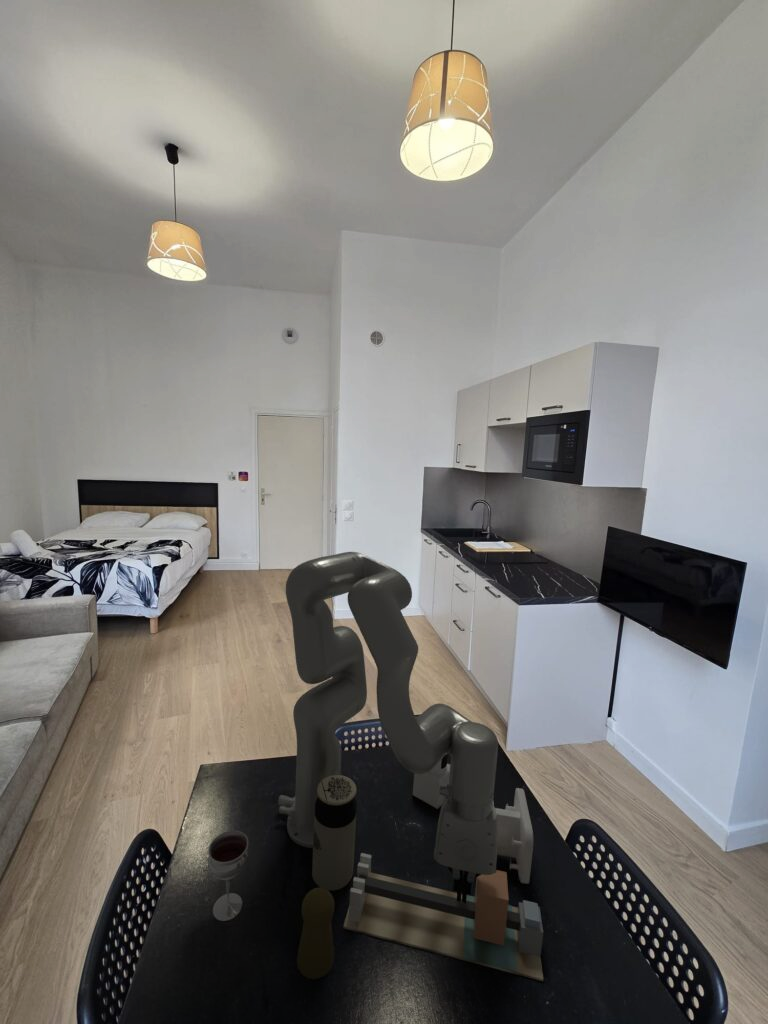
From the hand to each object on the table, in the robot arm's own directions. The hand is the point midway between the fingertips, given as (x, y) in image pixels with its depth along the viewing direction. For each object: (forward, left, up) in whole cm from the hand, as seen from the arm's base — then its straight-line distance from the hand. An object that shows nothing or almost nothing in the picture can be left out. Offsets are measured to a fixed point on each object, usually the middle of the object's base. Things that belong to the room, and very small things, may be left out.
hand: (461, 894), depth 79 cm
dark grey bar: (-4, 0, -4) cm, 5 cm away
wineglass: (-41, -7, -6) cm, 42 cm away
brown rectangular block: (+5, 0, -5) cm, 7 cm away
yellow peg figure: (-23, -11, -6) cm, 26 cm away
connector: (+12, 0, -6) cm, 13 cm away
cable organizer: (+7, +16, -6) cm, 19 cm away
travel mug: (-25, +4, -6) cm, 26 cm away
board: (-3, 0, -6) cm, 7 cm away
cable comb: (-18, 0, -6) cm, 19 cm away
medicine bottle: (-8, +30, -6) cm, 32 cm away
